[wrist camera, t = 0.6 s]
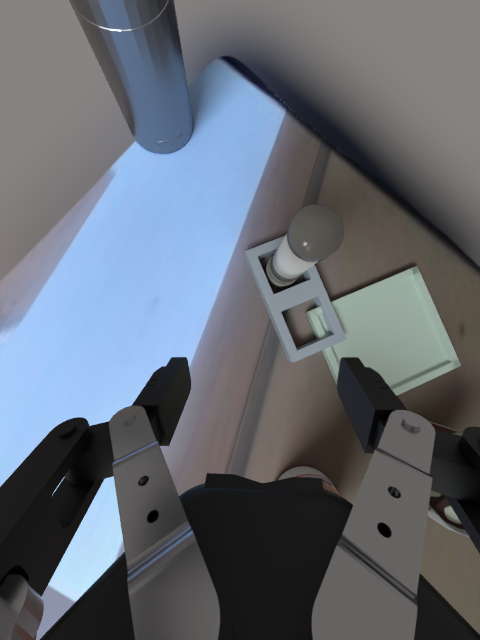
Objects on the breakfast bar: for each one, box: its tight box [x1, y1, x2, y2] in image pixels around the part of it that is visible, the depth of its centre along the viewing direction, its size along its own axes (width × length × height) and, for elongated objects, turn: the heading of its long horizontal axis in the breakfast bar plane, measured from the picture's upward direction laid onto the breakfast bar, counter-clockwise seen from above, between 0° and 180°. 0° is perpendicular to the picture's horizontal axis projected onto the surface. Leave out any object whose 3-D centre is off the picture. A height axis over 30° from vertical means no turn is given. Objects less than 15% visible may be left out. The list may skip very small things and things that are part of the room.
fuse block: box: [244, 235, 346, 363], centre depth 34 cm, size 17×8×2 cm, turn 23°
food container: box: [428, 421, 469, 537], centre depth 30 cm, size 12×6×10 cm, turn 123°
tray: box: [306, 266, 461, 396], centre depth 35 cm, size 16×18×1 cm
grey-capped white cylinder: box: [265, 204, 344, 288], centre depth 28 cm, size 5×5×14 cm
